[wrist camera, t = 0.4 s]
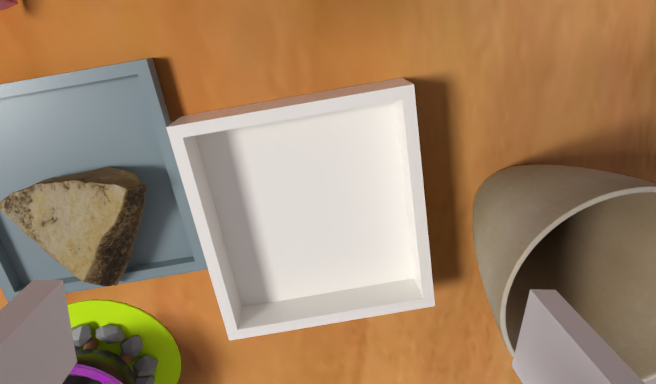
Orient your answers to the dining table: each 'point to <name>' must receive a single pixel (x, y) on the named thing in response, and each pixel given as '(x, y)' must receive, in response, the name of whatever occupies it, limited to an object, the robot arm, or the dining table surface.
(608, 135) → the dining table surface
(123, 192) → the rock
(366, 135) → the dish
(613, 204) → the plant pot
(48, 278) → the tray
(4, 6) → the flower sculpture
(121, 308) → the toy cauldron
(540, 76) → the dining table surface
